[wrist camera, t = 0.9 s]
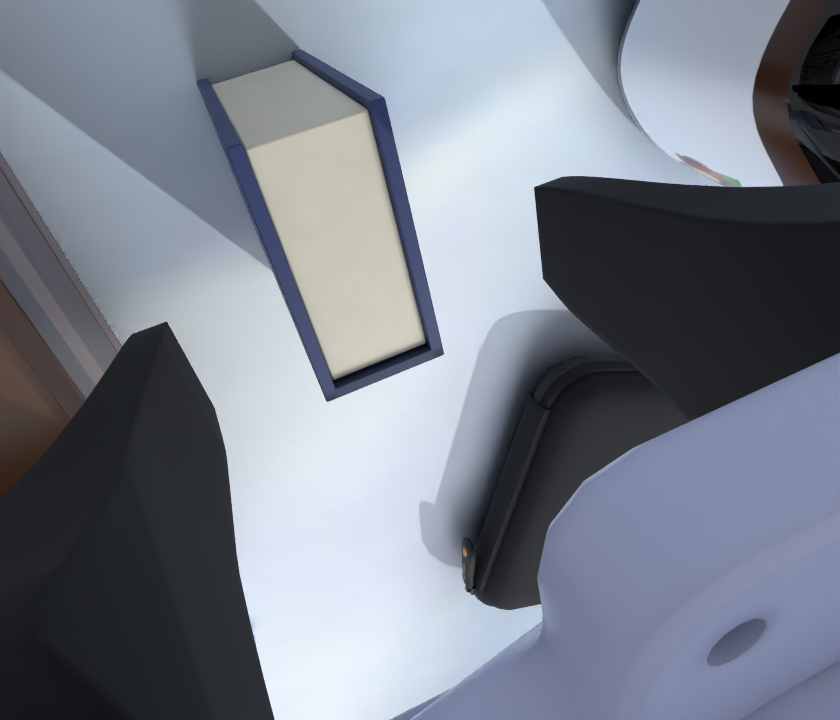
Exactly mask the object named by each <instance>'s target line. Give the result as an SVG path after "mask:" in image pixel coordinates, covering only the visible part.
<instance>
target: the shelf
mask: <svg viewBox="0 0 840 720" xmlns="http://www.w3.org/2000/svg"><path fill="white" fill-rule="evenodd" d="M121 348H122V346H121V345H120V343H119V342H118V340H117V338H116V337H115V335H114V334H113V332H112V330H111V329H110V327H109V326H108V324H107V322H106V321H105V319H104V318H103V316H102V314H101V313H100V311H99V310H98V308H97V306H96V305H95V303H94V302H93V300H92V298H91V297H90V295H89V294H88V292H87V290H86V289H85V287H84V286H83V284H82V282H81V281H80V279H79V278H78V276H77V274H76V273H75V271H74V270H73V268H72V266H71V265H70V263H69V262H68V260H67V258H66V257H65V255H64V254H63V252H62V250H61V249H60V247H59V246H58V244H57V242H56V241H55V239H54V238H53V236H52V234H51V233H50V231H49V230H48V228H47V226H46V225H45V223H44V222H43V220H42V218H41V217H40V215H39V214H38V212H37V210H36V209H35V207H34V206H33V204H32V202H31V201H30V199H29V198H28V196H27V194H26V193H25V191H24V190H23V188H22V186H21V185H20V183H19V182H18V180H17V178H16V177H15V175H14V174H13V172H12V170H11V169H10V167H9V166H8V164H7V162H6V161H5V159H4V158H3V156H2V154H1V153H0V499H1V498H2V497H3V496H4V495H5V494H6V493H7V492H8V491H9V490H11V489H12V488H13V486H14V485H15V484H16V483H17V482H18V481H19V480H20V479H21V478H22V477H23V476H24V475H25V474H26V473H27V472H28V471H29V470H30V469H31V467H32V466H33V465H34V464H35V463H36V462H37V461H38V460H39V459H40V458H41V456H42V455H43V454H44V453H45V452H46V451H47V450H48V448H49V447H50V446H51V445H52V444H53V442H54V441H55V440H56V439H57V437H58V436H59V435H60V433H61V432H62V431H63V430H64V428H65V427H66V426H67V424H68V423H69V422H70V420H71V419H72V418H73V416H74V415H75V414H76V413H77V411H78V410H79V409H80V407H81V406H82V405H83V403H84V402H85V401H86V399H87V398H88V396H89V395H90V394H91V392H92V391H93V389H94V388H95V386H96V385H97V383H98V382H99V380H100V379H101V377H102V376H103V374H104V373H105V372H106V370H107V369H108V367H109V366H110V364H111V363H112V361H113V360H114V358H115V357H116V355H117V354H118V352H119V351H120V349H121Z"/></svg>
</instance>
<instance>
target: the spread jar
mask: <svg viewBox="0 0 840 720" xmlns="http://www.w3.org/2000/svg"><path fill="white" fill-rule="evenodd" d="M617 72H618V81H619V87H620V91H621V94H622V97H623V100H624V103H625V105H626V108H627V110H628V112H629V114H630V116H631V117H632V119H633V120H634V122H635V124H636V125H637V126H638V128H639V129H640V130H641V131H642V133H643V134H644V135H645V136H646V137H647V138H648V139H649V140H650V141H651V142H652V143H653V144H654V145H655V146H657V147H658V148H659V149H660V150H662V151H663V152H665V153H666V154H668V155H669V156H670V157H672V158H673V159H675V160H676V161H678V162H679V163H681V164H683V165H684V166H686V167H688V168H690V169H691V170H693V171H695V172H697V173H699V174H701V175H703V176H705V177H707V178H709V179H711V180H713V181H715V182H717V183H719V184H720V185H722V186H725V187H768V186H797V185H812V184H824V183H835V182H840V0H636V2H635V5H634V7H633V9H632V12H631V14H630V17H629V19H628V22H627V24H626V27H625V30H624V33H623V36H622V40H621V44H620V48H619V54H618V63H617Z"/></svg>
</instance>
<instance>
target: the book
mask: <svg viewBox="0 0 840 720" xmlns="http://www.w3.org/2000/svg"><path fill="white" fill-rule="evenodd" d="M292 55H293V59H294V60H291V61H288V62H284V63H281V64H278V65H275V66H271V67H268V68H265V69H261V70H258V71H255V72H252V73H248V74H245V75H242V76H238V77H235V78H232V79H229V80H225V81H222V82H219V83H215V84H212V85H210V83H209V81H208V79H206V78H205V79H202V80H199V81H197V85H198V87H199V90H200V92H201V95H202V97H203V100H204V102H205V105H206V107H207V110H208V112H209V115H210V117H211V120H212V122H213V125H214V127H215V130H216V132H217V134H218V137H219V139H220V142H221V144H222V147H223V149H224V152H225V154H226V157H227V159H228V162H229V164H230V167H231V169H232V172H233V174H234V177H235V179H236V182H237V184H238V187H239V189H240V192H241V194H242V197H243V199H244V202H245V204H246V206H247V209H248V211H249V214H250V216H251V219H252V221H253V224H254V226H255V229H256V231H257V234H258V236H259V239H260V241H261V244H262V246H263V249H264V251H265V254H266V256H267V259H268V261H269V264H270V266H271V269H272V271H273V274H274V276H275V278H276V281H277V283H278V286H279V288H280V290H281V293H282V295H283V298H284V300H285V302H286V305H287V307H288V310H289V312H290V315H291V317H292V319H293V322H294V324H295V327H296V329H297V331H298V334H299V336H300V339H301V341H302V343H303V346H304V348H305V351H306V353H307V356H308V358H309V360H310V363H311V365H312V368H313V370H314V372H315V375H316V377H317V380H318V382H319V384H320V387H321V389H322V392H323V394H324V397H325V399H326V401H327V402H329V401H331V400H333V399H336V398H338V397H341V396H343V395H346V394H348V393H351V392H353V391H356V390H358V389H360V388H363V387H365V386H368V385H370V384H373V383H375V382H378V381H380V380H383V379H385V378H388V377H390V376H392V375H395V374H397V373H400V372H402V371H405V370H407V369H410V368H412V367H415V366H417V365H419V364H422V363H424V362H427V361H429V360H432V359H434V358H437V357H439V356H442V355H443V354H444V352H443V347H442V343H441V339H440V334H439V330H438V326H437V321H436V317H435V313H434V309H433V304H432V300H431V296H430V291H429V287H428V283H427V278H426V274H425V270H424V265H423V261H422V257H421V252H420V248H419V244H418V239H417V235H416V231H415V227H414V222H413V218H412V214H411V209H410V205H409V201H408V196H407V192H406V188H405V183H404V179H403V175H402V170H401V166H400V162H399V158H398V153H397V149H396V145H395V140H394V136H393V132H392V127H391V123H390V119H389V114H388V110H387V106H386V101H385V98H384V97H383V96H381V95H379V94H377V93H376V92H374V91H372V90H371V89H369V88H367V87H365V86H364V85H362V84H360V83H358V82H357V81H355V80H353V79H351V78H350V77H348V76H346V75H344V74H343V73H341V72H339V71H337V70H336V69H334V68H332V67H331V66H329V65H327V64H325V63H324V62H322V61H320V60H318V59H317V58H315V57H313V56H311V55H310V54H308V53H306V52H304V51H303V50H298V51H295V52H292Z"/></svg>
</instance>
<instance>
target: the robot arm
mask: <svg viewBox="0 0 840 720" xmlns="http://www.w3.org/2000/svg"><path fill="white" fill-rule="evenodd" d="M534 191H535V201H536V211H537V221H538V232H539V242H540V252H541V262H542V272H543V279H544V280H545V281H546V283H547V284H548V285H549V286H550V288H551V289H552V290H553V291H554V293H555V294H556V295H557V297H558V298H559V299H560V300H561V301H562V302H563V303H564V305H565V306H566V307H567V308H568V309H569V310H570V311H571V312H572V313H573V314H574V315H575V316H576V317H577V318H578V319H579V320H581V321H582V322H583V323H584V324H585V325H586V326H587V327H589V328H590V329H591V330H592V331H593V332H594V333H595V334H597V335H598V336H599V337H600V338H601V339H602V340H604V341H605V342H606V343H607V344H608V345H609V346H611V347H612V348H613V349H614V350H615V351H616V352H618V353H619V354H620V355H621V356H622V357H623V358H625V359H626V360H627V361H628V362H629V363H630V364H632V365H633V366H634V367H635V368H636V369H638V370H639V371H640V372H641V373H642V374H643V375H644V376H645V377H647V378H648V379H649V380H650V381H651V382H652V383H653V384H654V385H655V386H656V387H657V388H658V389H659V390H660V391H661V392H662V393H663V394H664V395H665V396H666V397H667V398H668V400H669V401H670V402H671V403H672V404H673V405H674V406H675V407H676V408H677V409H678V410H679V412H680V413H681V414H682V415H683V416H684V417H685V418H686V419H687V420H688V421H689V422H688V423H686V424H684V425H682V426H679V427H677V428H675V429H673V430H671V431H669V432H666V433H664V434H662V435H660V436H658V437H656V438H653V439H651V440H649V441H647V442H645V443H642V444H640V445H638V446H636V447H634V448H632V449H630V450H629V451H627V452H626V453H625V454H623V455H622V456H620V457H619V458H617V459H616V460H614V461H613V462H611V463H610V464H608V465H607V466H605V467H604V468H602V469H601V470H599V471H598V472H596V473H595V474H593V475H592V476H590V477H589V478H588V479H586V480H585V481H583V483H582V484H581V485H580V486H579V488H578V489H577V490H576V492H575V493H574V494H573V495H572V497H571V498H570V499H569V501H568V502H567V503H566V504H565V506H564V507H563V508H562V510H561V511H560V512H559V513H558V515H557V516H556V517H555V519H554V520H553V521H552V522H551V524H550V526H549V528H548V531H547V534H546V538H545V543H544V548H543V552H542V557H541V561H540V566H539V571H538V575H537V580H538V586H539V592H540V598H541V605H542V611H543V621H542V622H541V623H539V624H538V625H536V626H535V627H534V628H532V629H531V630H530V631H528V632H527V633H526V634H524V635H523V636H522V637H520V638H519V639H518V640H516V641H515V642H514V643H512V644H511V645H509V646H508V647H507V648H505V649H504V650H503V651H501V652H500V653H499V654H497V655H496V656H495V657H493V658H492V659H491V660H489V661H488V662H487V663H485V664H484V665H483V666H481V667H480V668H479V669H477V670H476V671H475V672H473V673H472V674H471V675H469V676H468V677H466V678H465V679H464V680H462V681H461V682H460V683H458V684H457V685H456V686H454V687H453V688H451V689H449V690H447V691H445V692H443V693H442V694H440V695H438V696H436V697H434V698H432V699H430V700H428V701H426V702H424V703H422V704H420V705H418V706H416V707H414V708H412V709H410V710H408V711H406V712H404V713H402V714H400V715H398V716H396V717H394V718H392V719H390V720H840V182H835V183H824V184H812V185H797V186H768V187H719V186H699V185H682V184H668V183H657V182H646V181H635V180H625V179H614V178H602V177H587V176H569V177H561V178H558V179H555V180H553V181H550V182H547V183H544V184H542V185H539V186H536V187H534ZM0 720H274V716H273V712H272V708H271V705H270V701H269V697H268V693H267V689H266V685H265V681H264V678H263V673H262V669H261V665H260V661H259V657H258V653H257V649H256V642H255V636H254V635H253V632H252V628H251V624H250V619H249V615H248V610H247V606H246V601H245V597H244V592H243V588H242V583H241V579H240V574H239V567H238V561H237V554H236V544H235V534H234V524H233V514H232V504H231V494H230V484H229V475H228V465H227V457H226V450H225V446H224V442H223V438H222V434H221V430H220V426H219V423H218V419H217V415H216V411H215V408H214V406H213V404H212V403H211V401H210V399H209V397H208V395H207V393H206V392H205V390H204V388H203V386H202V384H201V383H200V381H199V379H198V377H197V375H196V374H195V372H194V370H193V368H192V366H191V365H190V363H189V361H188V359H187V357H186V356H185V354H184V352H183V350H182V348H181V346H180V345H179V343H178V341H177V339H176V337H175V336H174V334H173V332H172V330H171V328H170V327H169V325H168V323H167V322H164V323H162V324H159V325H156V326H153V327H151V328H148V329H145V330H142V331H140V332H137V333H134V334H132V335H131V336H130V337H129V338H128V339H127V341H126V342H125V343H124V345H123V346H122V348H121V349H120V351H119V352H118V354H117V355H116V357H115V358H114V360H113V361H112V363H111V364H110V366H109V367H108V369H107V370H106V372H105V373H104V374H103V376H102V377H101V379H100V380H99V382H98V383H97V385H96V386H95V388H94V389H93V391H92V392H91V394H90V395H89V396H88V398H87V399H86V401H85V402H84V403H83V405H82V406H81V407H80V409H79V410H78V411H77V413H76V414H75V415H74V416H73V418H72V419H71V420H70V422H69V423H68V424H67V426H66V427H65V428H64V430H63V431H62V432H61V433H60V435H59V436H58V437H57V439H56V440H55V441H54V442H53V444H52V445H51V446H50V447H49V448H48V450H47V451H46V452H45V453H44V454H43V455H42V456H41V458H40V459H39V460H38V461H37V462H36V463H35V464H34V465H33V466H32V467H31V469H30V470H29V471H28V472H27V473H26V474H25V475H24V476H23V477H22V478H21V479H20V480H19V481H18V482H17V483H16V484H15V485H14V486H13V488H12V489H11V490H9V491H8V492H7V493H6V494H5V495H4V496H3V497H2V498H1V499H0Z"/></svg>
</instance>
